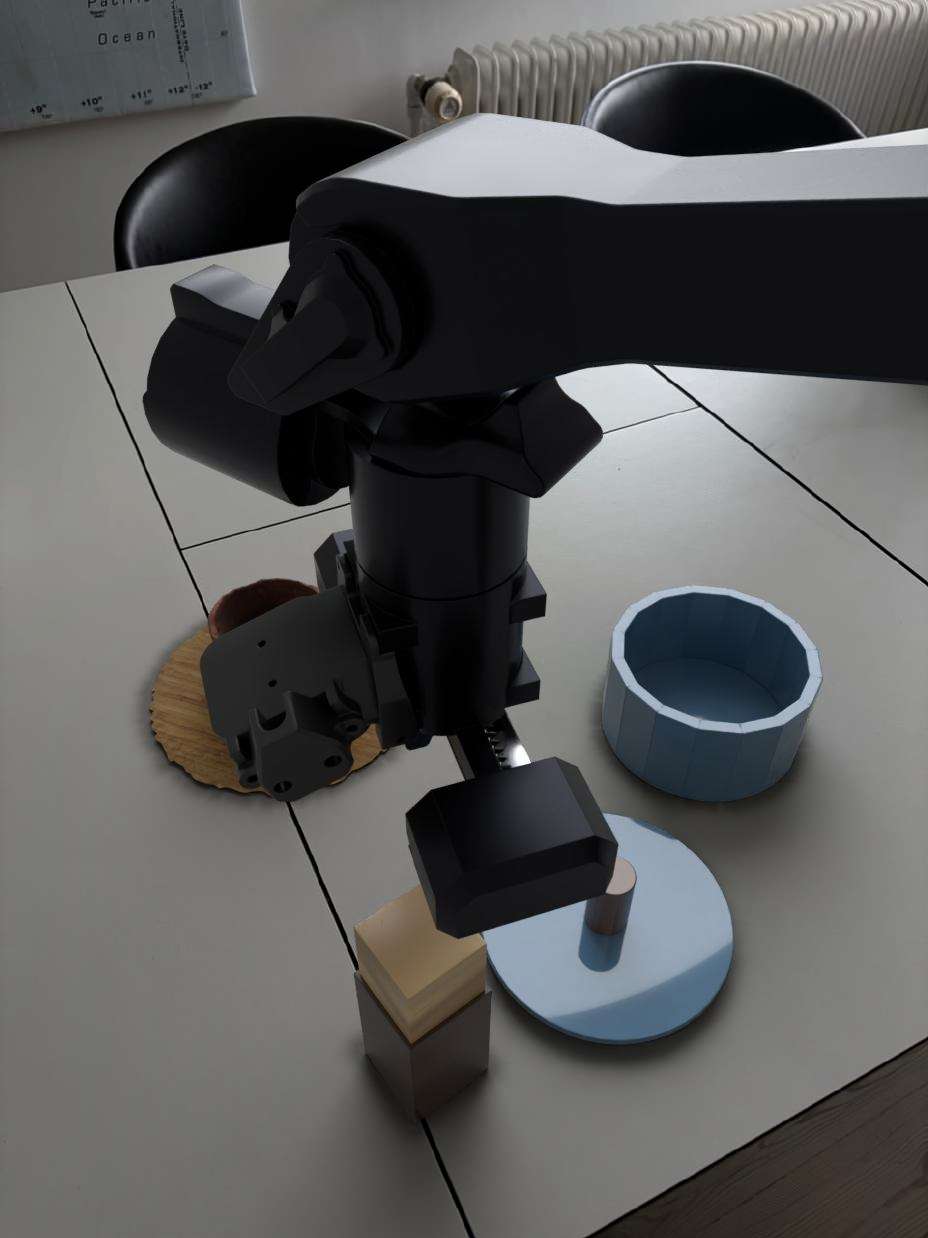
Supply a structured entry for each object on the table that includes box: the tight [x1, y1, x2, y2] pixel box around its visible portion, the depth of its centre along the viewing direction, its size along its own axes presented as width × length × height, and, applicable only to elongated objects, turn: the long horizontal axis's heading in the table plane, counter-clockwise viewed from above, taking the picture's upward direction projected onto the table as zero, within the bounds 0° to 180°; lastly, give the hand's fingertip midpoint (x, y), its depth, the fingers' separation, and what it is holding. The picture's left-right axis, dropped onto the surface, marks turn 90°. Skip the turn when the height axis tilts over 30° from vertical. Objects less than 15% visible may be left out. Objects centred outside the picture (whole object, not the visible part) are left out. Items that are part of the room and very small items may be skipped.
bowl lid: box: [480, 812, 734, 1045], centre depth 53 cm, size 14×14×5 cm
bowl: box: [601, 584, 824, 803], centre depth 64 cm, size 13×13×6 cm
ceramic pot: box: [148, 577, 387, 797], centre depth 65 cm, size 18×18×7 cm
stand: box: [353, 969, 493, 1125], centre depth 47 cm, size 4×4×8 cm
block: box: [353, 883, 488, 1044], centre depth 43 cm, size 4×4×4 cm
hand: (447, 823), depth 44 cm, fingers open, 9 cm apart
